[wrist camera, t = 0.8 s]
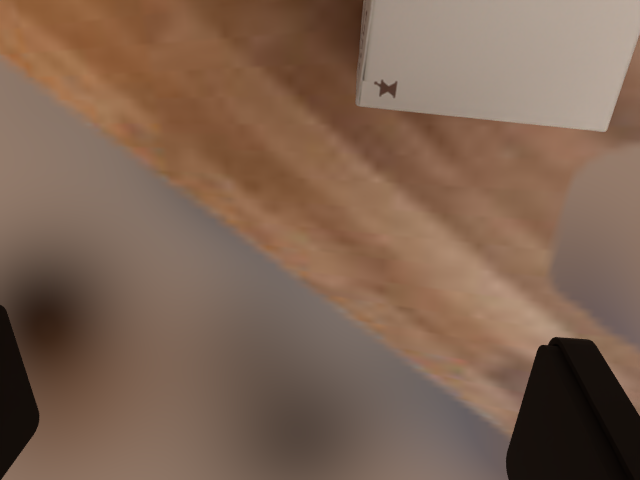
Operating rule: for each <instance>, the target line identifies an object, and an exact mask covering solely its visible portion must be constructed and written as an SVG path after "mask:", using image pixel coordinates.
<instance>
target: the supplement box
mask: <svg viewBox="0 0 640 480" xmlns="http://www.w3.org/2000/svg"><path fill="white" fill-rule="evenodd" d="M639 34H640V0H364V1H363V11H362V21H361V35H360V48H359V58H358V67H357V81H356V105H357V106H360V107H369V108H379V109H388V110H398V111H408V112H417V113H427V114H437V115H446V116H456V117H466V118H475V119H485V120H495V121H505V122H514V123H524V124H534V125H544V126H553V127H562V128H572V129H583V130H592V131H600V132H605V131H607V128H608V125H609V122H610V119H611V116H612V113H613V111H614V108H615V105H616V102H617V99H618V96H619V93H620V90H621V87H622V84H623V81H624V78H625V75H626V72H627V69H628V67H629V64H630V61H631V58H632V55H633V52H634V49H635V46H636V43H637V40H638V37H639Z"/></svg>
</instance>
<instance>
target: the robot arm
mask: <svg viewBox="0 0 640 480" xmlns="http://www.w3.org/2000/svg"><path fill="white" fill-rule="evenodd" d="M38 423H39V411H38V408H37V405H36V402H35V398H34V395H33V392H32V389H31V386H30V383H29V380H28V376H27V373H26V370H25V367H24V364H23V361H22V358H21V355H20V352H19V348H18V345H17V342H16V339H15V336H14V333H13V330H12V327H11V324H10V320H9V317H8V314H7V311H6V309H5V308H4V307H3V306H1V305H0V480H1V479H2V478H3V476H4V475H5V473H6V472H7V471H8V469H9V468H10V467H11V465H12V464H13V462H14V461H15V460H16V458H17V457H18V455H19V454H20V453H21V451H22V450H23V449H24V447H25V446H26V444H27V443H28V442H29V440H30V439H31V437H32V436H33V435H34V433H35V431H36V429H37V427H38ZM506 469H507V475H508V479H509V480H640V416H639V414H638V413H637V411H636V409H635V408H634V406H633V405H632V403H631V401H630V400H629V398H628V396H627V395H626V393H625V392H624V390H623V388H622V387H621V385H620V384H619V382H618V380H617V379H616V377H615V375H614V374H613V372H612V371H611V369H610V367H609V366H608V364H607V363H606V361H605V359H604V358H603V356H602V354H601V353H600V351H599V350H598V348H597V346H596V345H595V344H594V343H593V341H591V340H587V339H574V338H560V337H555V338H552V339H551V340H550V342H549V344H548V345H541V346H540V347H539V348H538V350H537V353H536V357H535V360H534V363H533V367H532V370H531V374H530V377H529V380H528V384H527V387H526V390H525V394H524V397H523V401H522V404H521V407H520V411H519V414H518V418H517V421H516V424H515V428H514V431H513V434H512V438H511V441H510V445H509V448H508V451H507V457H506Z"/></svg>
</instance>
